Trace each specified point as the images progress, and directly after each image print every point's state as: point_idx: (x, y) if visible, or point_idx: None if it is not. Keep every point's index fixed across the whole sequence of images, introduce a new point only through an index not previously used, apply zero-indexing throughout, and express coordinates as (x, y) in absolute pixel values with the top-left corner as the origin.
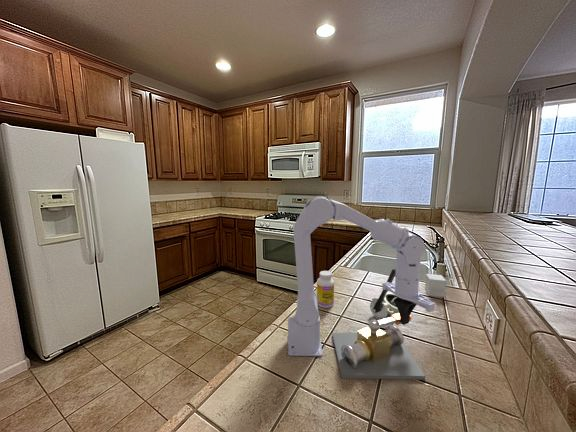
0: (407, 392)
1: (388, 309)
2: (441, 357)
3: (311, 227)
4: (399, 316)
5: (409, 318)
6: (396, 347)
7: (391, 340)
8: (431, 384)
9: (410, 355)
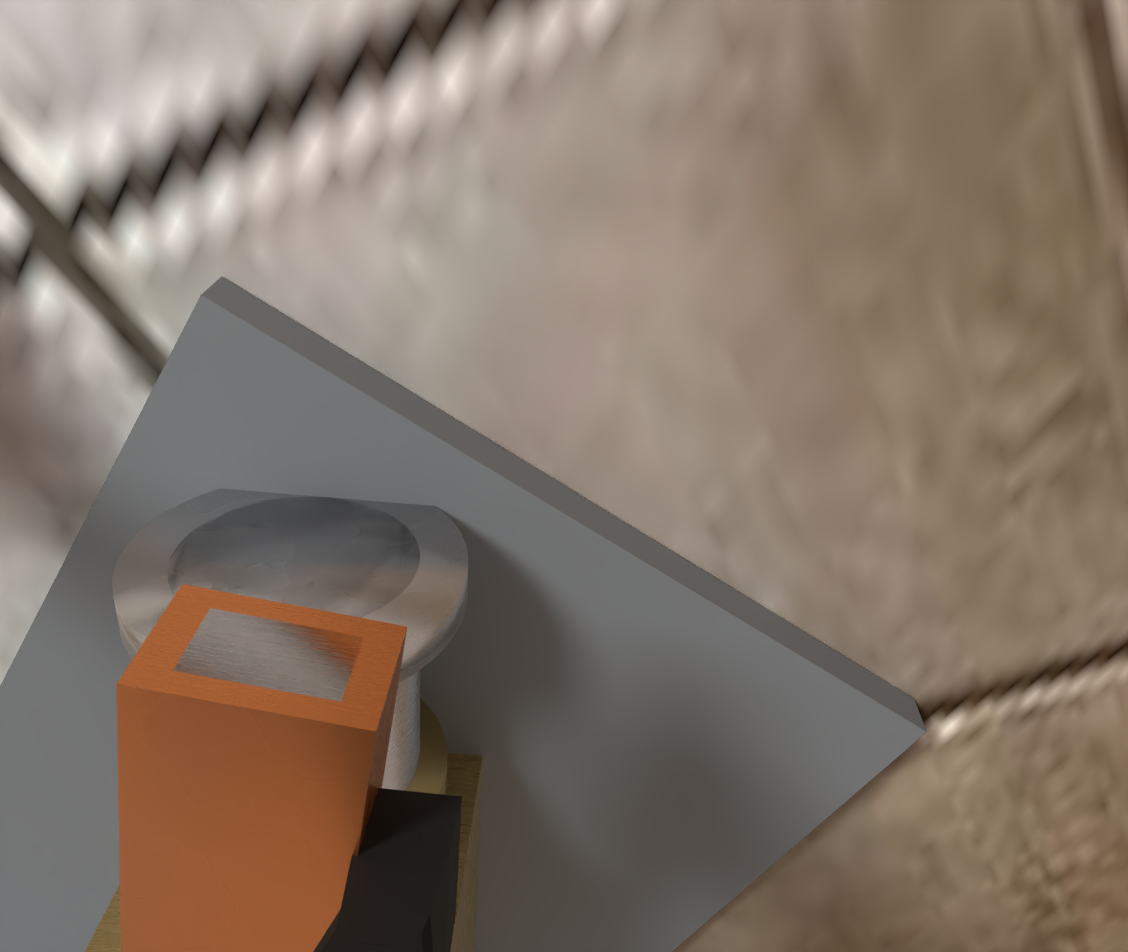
0: (855, 912)
1: None
2: (929, 158)
3: None
4: (253, 942)
5: (441, 865)
6: None
7: None
8: (986, 699)
9: (645, 585)
